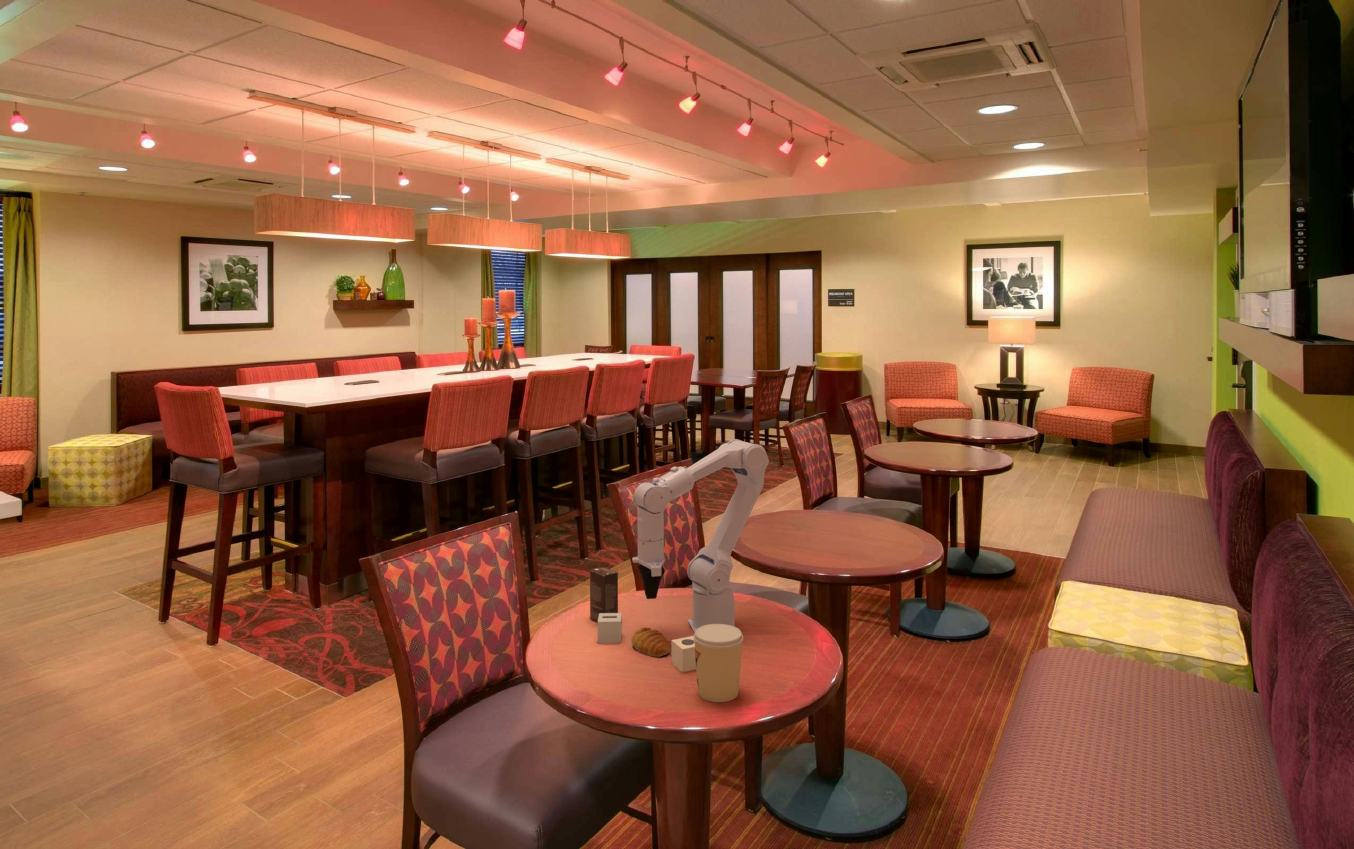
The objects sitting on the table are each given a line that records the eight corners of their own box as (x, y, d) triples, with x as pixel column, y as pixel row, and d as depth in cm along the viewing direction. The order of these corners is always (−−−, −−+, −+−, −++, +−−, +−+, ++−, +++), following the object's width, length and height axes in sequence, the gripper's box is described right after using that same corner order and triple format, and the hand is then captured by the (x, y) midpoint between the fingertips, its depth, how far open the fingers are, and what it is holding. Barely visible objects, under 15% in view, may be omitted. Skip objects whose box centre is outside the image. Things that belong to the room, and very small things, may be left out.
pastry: (678, 654, 170) (678, 636, 169) (652, 662, 166) (651, 644, 166) (653, 639, 177) (653, 623, 177) (628, 647, 174) (627, 630, 173)
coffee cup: (703, 678, 158) (703, 620, 156) (748, 686, 154) (749, 627, 153) (686, 699, 149) (686, 637, 148) (733, 708, 146) (734, 645, 144)
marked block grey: (621, 634, 180) (621, 612, 180) (620, 643, 175) (620, 620, 175) (599, 634, 180) (599, 612, 179) (597, 643, 175) (597, 621, 174)
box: (619, 621, 187) (618, 572, 186) (603, 626, 185) (602, 576, 183) (604, 614, 192) (604, 565, 190) (589, 618, 189) (588, 569, 188)
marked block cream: (693, 658, 167) (693, 635, 167) (704, 668, 163) (704, 643, 162) (671, 663, 165) (671, 639, 164) (682, 672, 161) (682, 648, 160)
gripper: (627, 530, 181) (628, 588, 182) (637, 548, 167) (638, 610, 168) (658, 528, 182) (658, 586, 184) (670, 546, 168) (671, 608, 170)
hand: (651, 597), depth 176 cm, fingers closed
